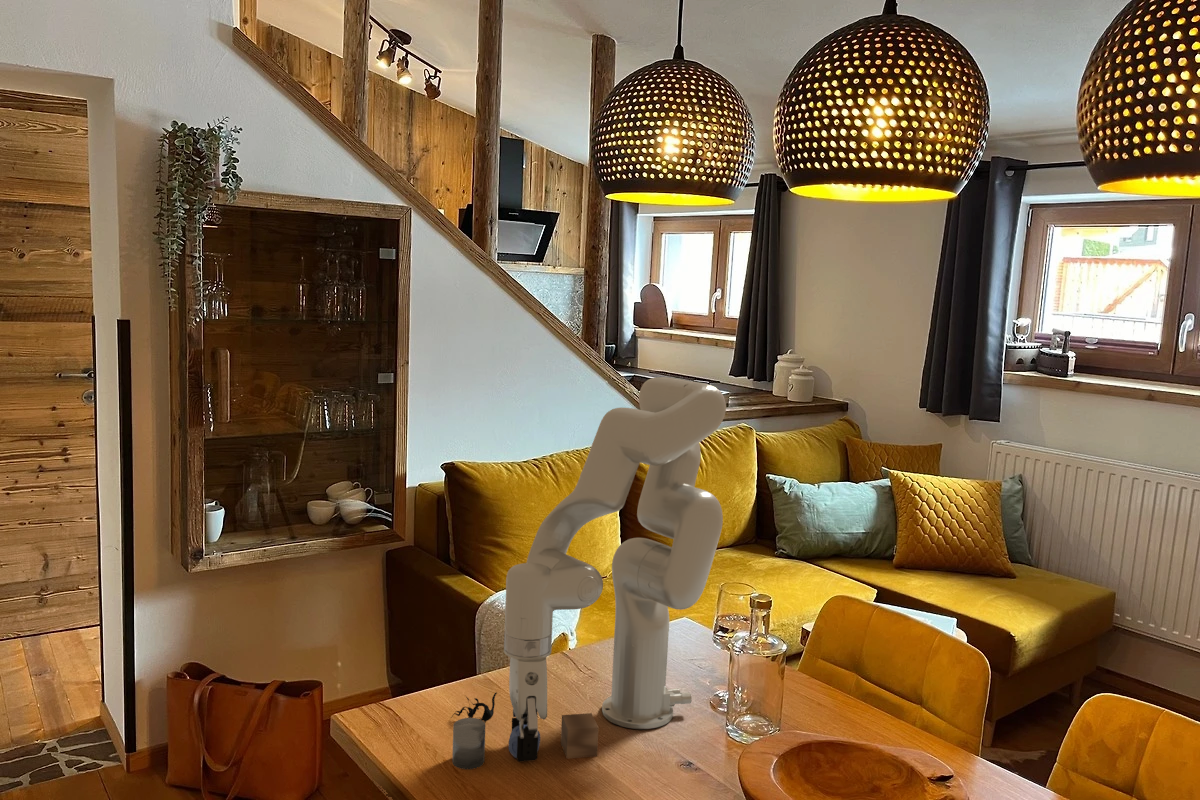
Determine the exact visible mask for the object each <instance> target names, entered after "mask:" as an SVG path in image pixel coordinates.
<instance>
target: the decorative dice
mask: <svg viewBox="0 0 1200 800" xmlns="http://www.w3.org/2000/svg"><path fill="white" fill-rule="evenodd" d="M525 726H527V725H524V728H525ZM509 735H510V736H509V739H508V751H509V753H510V755H512V757H513V758H515V759H517V736H519V726H516V727H515V728H514V729H513V730H512V729H511V732H510V734H509ZM540 745H541V733H540V731H539V730H538V751H539V748H540Z"/></svg>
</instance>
